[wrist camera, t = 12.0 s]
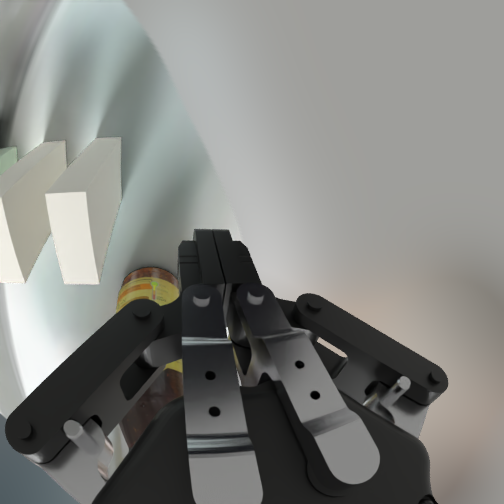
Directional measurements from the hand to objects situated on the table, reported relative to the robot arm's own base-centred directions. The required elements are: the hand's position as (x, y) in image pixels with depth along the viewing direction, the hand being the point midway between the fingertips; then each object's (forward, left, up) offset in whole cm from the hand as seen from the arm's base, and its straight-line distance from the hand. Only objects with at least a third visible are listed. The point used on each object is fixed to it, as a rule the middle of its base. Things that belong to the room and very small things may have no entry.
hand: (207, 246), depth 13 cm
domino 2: (0, +11, -11) cm, 15 cm away
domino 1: (0, +6, -11) cm, 12 cm away
